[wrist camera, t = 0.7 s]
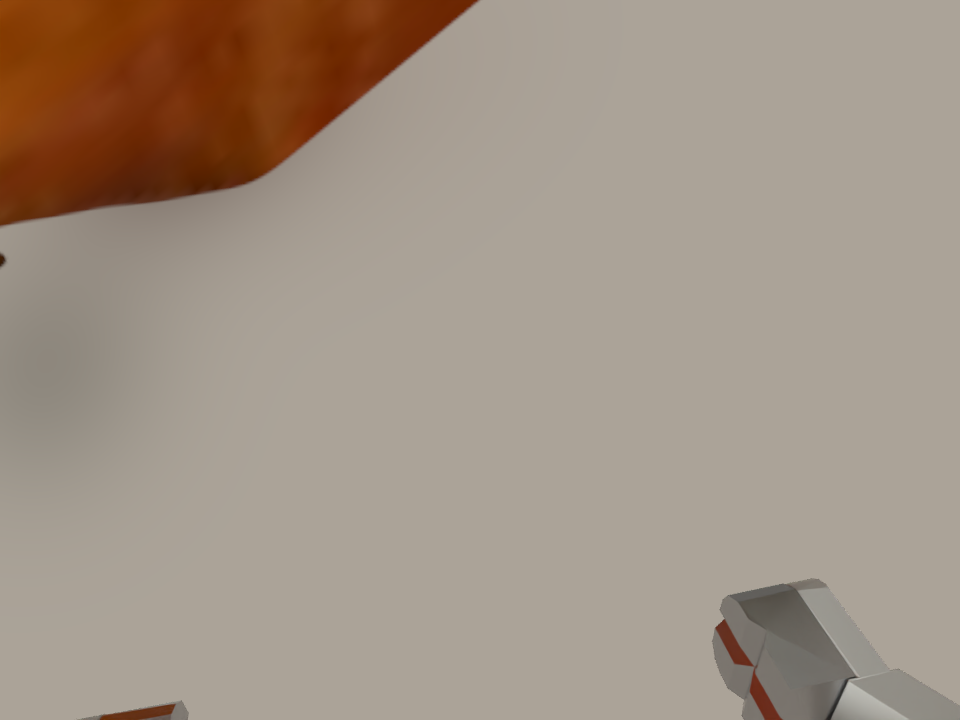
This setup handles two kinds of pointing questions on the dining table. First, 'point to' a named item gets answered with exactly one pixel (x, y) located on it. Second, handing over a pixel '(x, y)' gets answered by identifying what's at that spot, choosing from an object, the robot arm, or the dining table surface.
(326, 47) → the dining table surface
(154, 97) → the dining table surface
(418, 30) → the dining table surface
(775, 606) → the robot arm
